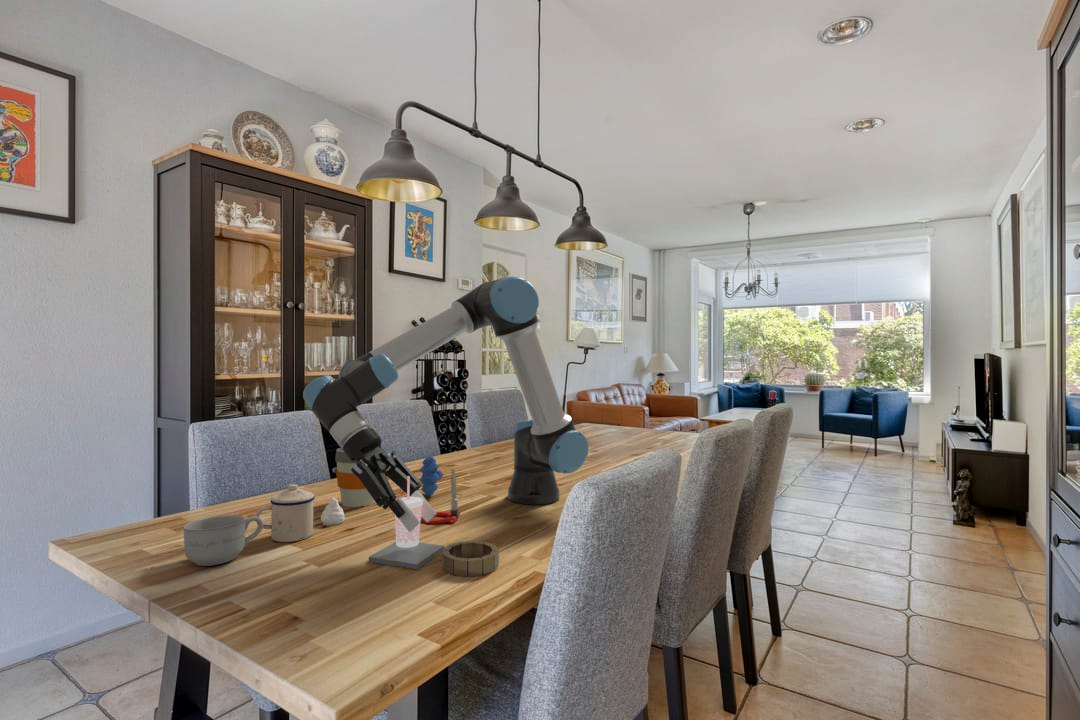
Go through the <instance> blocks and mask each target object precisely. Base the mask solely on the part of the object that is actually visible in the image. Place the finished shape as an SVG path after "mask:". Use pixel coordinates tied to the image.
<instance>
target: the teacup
mask: <svg viewBox="0 0 1080 720" xmlns="http://www.w3.org/2000/svg"><path fill="white" fill-rule="evenodd" d="M253 522H256V524H257V523H258V524H257V527H256V529H255V531H253V532H252V533H251V534H249V535H248V536H246V531H247V529H248V528H249V527H248V526H249V524H250V523H253ZM263 524H264V521H263V520H262V518H261V517H260V516H259V517H257V516H256V515H252V516H250V517H248V518H246V517H245V516H243V515H239V514H233V515H229V514H228V515H218V516H210V517H204V518H201V519H197V520H194V521H190V522H188V523H186V524H185V525H183V526H182V529H183V539H184V540H183V543H184V544H183V545H184V554H185V557H186V558H187V559H188V560H189V561H190V562H192V563H194V564H195V565H197V566H200V567H208V566H209V567H210V566H216V565H221V564H226V563H228V562H230V561H232V560H235V558H236V557H237V556H238V555H239V554H240V553H241V552H242V551H243V550H244V547H246V546H248V545H249V542H251V541H253V539H255V538H256V537H257V536H259V534H260V533H261V532H262V531H263V529H264V528H263Z"/></svg>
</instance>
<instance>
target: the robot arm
mask: <svg viewBox="0 0 1080 720" xmlns="http://www.w3.org/2000/svg"><path fill="white" fill-rule="evenodd" d="M538 295H539V294H538V292H537V290H536V288H535V287H534V285H532V283H531V282H529V281H528V280H527V279H524V278H522V277H520V276H504V277H501V278H497V279H494V280H489V281H487V282H484V283H481V284H479V285H478V286H476V287H475V288H473V289H472V290H471V291H469V292H468V293H466V294H464V295H462V296H461V297H459V298H458V299H456V300H454V301H453V302H452V303H451V306H450V308H447V309H446V310H443V311H442V312H440V313H438V314H436V315H434V316H433V317H430V318H429V319H427V320H426V321H424V322H422V323H420V324H418V325H416V326H413V327H412V328H411V329H409V330H407V331H405V332H403V333H402V334H400V335H398V336H396V337H394V338H392V339H390V340H389V341H387V342H385V343H383V344H382V345H379V346H378V347H376V348H374V349H373V350H371V351H369V352H367V353H366V354H363V355H361V356H359V357H357V358H356V359H353V360H352V359H351V360H349V361H347V362H346V363H344V364H343V365H342V366H341V367H340V368H339V372H338V378H337V379H335V378H333V376H331V375H328V374H325V375H322V376H320V377H316V378H314V379H313V380H311V381H309V383H308V384H307V385H306V386H305V388H304V389H303V393H302V398H303V400H304V401H305V403H306V404H307V406H308V407H309V409H310V410H311V412H312V413H313V414H314V415H315V417H316V418H317V419H318V420H319V421H320V423H321V424H322V426H323V427H324V428H325V430H327V432H328V433H329V434H330V435H331V436H332V438H333V439H334V441H335V442H336V443H337V444H338V446H339V448H342V447H343V451H344V453H345V454H346V455H347V456H348V458H349V459H350V460H351V461H352V462H357V463H356V464H355V465H354V466H353V468H352V469H351V471H352V472H353V473H354V474H355V475H356V476H357V477H358V478H359V479H360V481H361V482H362V483H363V485H364V486H365V488H366V489H367V491H368V492H369V493H370V495H371V496H372V498H373V499H374V501H375V503H376V505H377V506H378V507H380V508H382V509H383V510H387V509H388V508H389V509H390V510H391V512H392V513H393V514H394V516H395V515H396V517H398V518H399V520H400V521H401V522H402V523H403V525H404V526H405V527H406V529H407V530H408V531H409V532H411V531H412V530H413V529H414V528H415V527H416V526H417V525H418V524H419V523H420V524H421V521H420V522H419V521H418V520H417V518H416V517H415V516H414V514H413V513H412V512H411V511H410V509H409V508H408V507H407V505H406V504H405V503H404V502H403V500H402V499H401V497H397V495H396V494H395V492H394V489H393V487H392V486H391V484H390V481H389V480H391V481H392V482H393V483H394V484H395V485H396V486H397V487H399V488H400V489H401V490H402V491H403V492H404V493H405V494H407V476H410V493H409V497H419V498H422V499H423V505H422V508H421V517H423V518H424V519H425V521H426V522H429V521H430V520H431V519H434V517H436V516H435V515H436V514H437V513H436V512H437V511H436V510H435V509H434V508H433V506H432V505H431V503H429V502H428V500H427V498H425V496H424V495H423V494H422V492H421V491H420V489H421V488H422V486H423V484H422V483H421V482H420V479H418V477H417V476H416V475H415V474H414V473H413V472H412V470H411V469H410V468H409V467H408V466H407V465H406V464H405V462H404V461H403V460H402V459H401V458H400V456H399V454H398V452H397V451H396V450H393V451H392V452H391V453H389V452H387V450H385V449H383V447H382V446H381V445H382V438H381V437H380V435H379V434H378V433H377V431H376V430H375V429H374V428H373V427H371V423H369V421H368V420H367V419H366V418H365V417H364V415H363V414H362V413H361V412H360V410H359V409H358V407H360V406H362V405H363V404H364V403H366V402H367V401H369V400H370V399H372V398H373V397H375V396H376V395H378V394H379V393H381V392H382V391H384V390H385V389H388V388H389V387H390V386H391V385H392V384H394V383H395V382H397V380H398V379H399V372H398V371H400V370H401V369H403V368H405V367H407V366H409V365H410V364H412V363H414V362H416V361H417V360H419V359H421V358H422V357H424V356H426V355H428V354H430V353H431V352H433V351H435V350H436V349H439V348H440V347H442V346H443V345H445V344H447V343H449V342H451V341H452V340H454V339H456V338H457V337H459V336H461V335H463V334H464V333H466V334H472V333H473V332H475V331H477V330H479V329H482V328H486V327H490V326H491V327H492V329H493V332H494V335H495V337H496V338H498V339H500V340H502V341H503V342H504V345H505V347H506V348H505V349H506V350H507V353H508V356H509V360H510V362H511V365H512V367H513V370H514V373H515V375H516V379H517V381H518V384H519V387H520V389H521V392H522V394H523V398H524V400H525V404H526V406H527V410H528V412H529V414H530V417H531V419H523V420H518V421H516V422H515V425H514V432H513V434H514V441H513V442H514V450H513V451H514V454H513V455H514V456H513V457H514V459H513V460H514V461H513V462H514V463H513V468H514V469H513V474H512V477H511V481H510V485H509V487H508V489H507V499H508V500H509V501H511V502H514V503H517V504H522V505H547V504H551V503H555V502H558V501H559V500H560V488H559V487H558V484H557V479H556V475H555V473H559V474H567V475H568V474H572V473H575V472H577V471H578V470H579V469H580V468H582V466H583V465H584V464H585V462H586V458H588V454H589V443H588V441H589V440H588V439H587V437H586V436H585V434H583V433H582V432H581V431H579V430H576V429H577V428H576V427H575V424H574V421H573V419H572V416H571V415H569V414H568V413H566V412H564V409H563V407H562V403H561V400H560V398H559V396H558V392H557V388H556V387H555V383H554V380H553V377H552V375H551V372H550V369H549V366H548V363H547V360H546V358H545V354H544V353H543V349H542V346H541V343H540V340H539V337H538V334H537V331H536V329H537V326H538V324H539V319H538V317H537V313H538V308H539V304H540V300H539V299H540V298H539V296H538ZM388 478H389V480H388ZM397 498H398V499H397ZM396 499H397V500H396Z"/></svg>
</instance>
